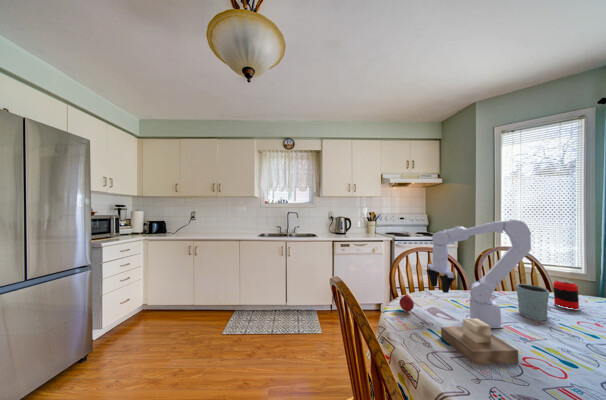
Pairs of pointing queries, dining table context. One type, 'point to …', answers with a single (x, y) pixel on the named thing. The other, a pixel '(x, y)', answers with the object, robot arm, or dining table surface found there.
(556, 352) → the dining table surface
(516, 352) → the walnut block
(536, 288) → the green plant pot
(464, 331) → the beech cube
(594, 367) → the dining table surface
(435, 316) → the dining table surface
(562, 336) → the dining table surface
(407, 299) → the pomegranate
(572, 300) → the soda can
